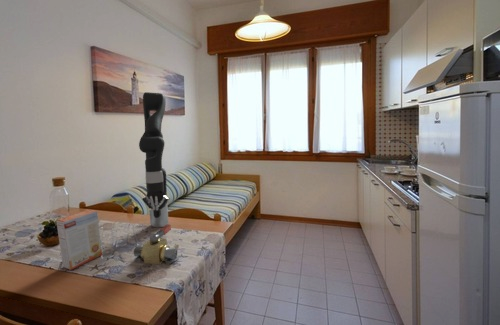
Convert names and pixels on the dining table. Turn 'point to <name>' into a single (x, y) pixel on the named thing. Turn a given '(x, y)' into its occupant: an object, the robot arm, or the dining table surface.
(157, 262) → the valve pipe
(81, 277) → the dining table surface
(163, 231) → the lever
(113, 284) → the dining table surface
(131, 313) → the dining table surface
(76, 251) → the cracker box
